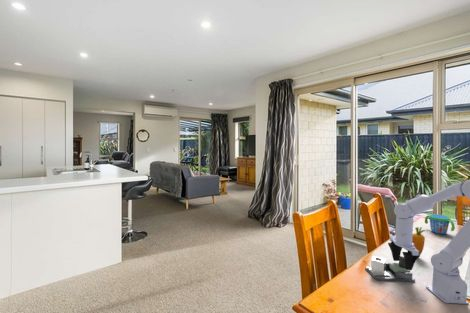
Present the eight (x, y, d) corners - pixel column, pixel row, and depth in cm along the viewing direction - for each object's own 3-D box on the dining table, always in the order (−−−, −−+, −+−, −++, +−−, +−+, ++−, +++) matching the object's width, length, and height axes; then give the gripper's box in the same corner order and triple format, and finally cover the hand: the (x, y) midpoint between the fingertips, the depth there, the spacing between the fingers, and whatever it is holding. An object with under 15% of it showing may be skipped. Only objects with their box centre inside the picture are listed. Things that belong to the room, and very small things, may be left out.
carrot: (418, 255, 122) (419, 225, 121) (426, 259, 117) (428, 228, 116) (408, 255, 122) (409, 225, 121) (415, 259, 117) (417, 228, 116)
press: (415, 282, 98) (415, 273, 97) (375, 280, 98) (376, 272, 98) (400, 270, 107) (401, 262, 107) (365, 268, 108) (365, 261, 107)
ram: (410, 275, 99) (410, 261, 99) (397, 274, 99) (398, 260, 99) (400, 267, 105) (401, 254, 105) (389, 267, 105) (390, 254, 105)
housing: (383, 275, 100) (384, 262, 99) (370, 271, 102) (371, 259, 102) (385, 270, 103) (385, 258, 103) (372, 267, 106) (373, 255, 106)
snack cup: (419, 228, 161) (420, 213, 160) (432, 227, 163) (433, 212, 162) (444, 237, 145) (446, 220, 145) (458, 236, 148) (460, 219, 147)
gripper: (427, 239, 94) (425, 274, 95) (401, 226, 109) (400, 256, 109) (409, 239, 94) (407, 274, 95) (385, 226, 109) (384, 256, 109)
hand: (402, 264), depth 102 cm, fingers open, 7 cm apart
